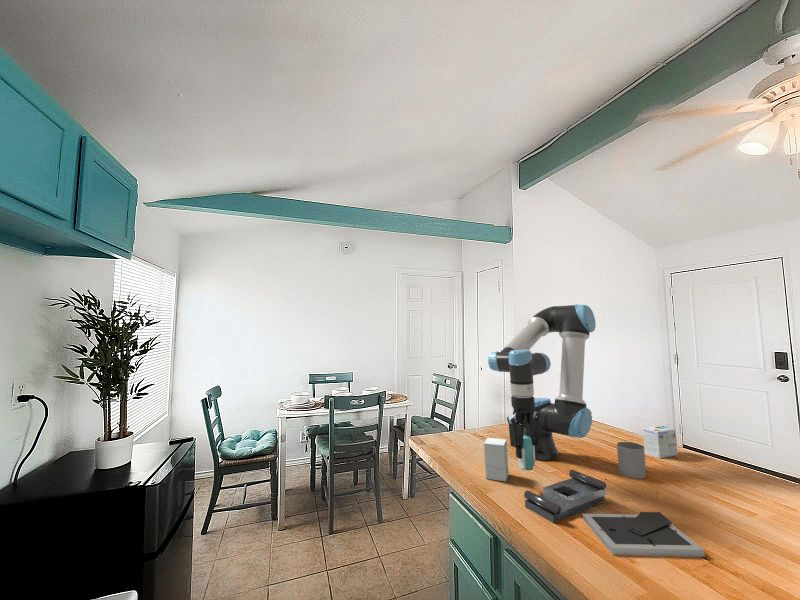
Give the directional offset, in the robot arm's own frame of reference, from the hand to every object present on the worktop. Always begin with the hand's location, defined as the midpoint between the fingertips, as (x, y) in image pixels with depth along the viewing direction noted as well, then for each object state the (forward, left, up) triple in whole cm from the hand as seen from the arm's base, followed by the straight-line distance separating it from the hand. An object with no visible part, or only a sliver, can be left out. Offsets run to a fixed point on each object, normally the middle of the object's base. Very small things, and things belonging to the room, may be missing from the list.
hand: (526, 465), depth 119 cm
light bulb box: (+5, +72, -8) cm, 73 cm away
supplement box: (-13, -2, -8) cm, 15 cm away
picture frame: (+33, +3, -8) cm, 34 cm away
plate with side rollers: (+13, +2, -8) cm, 15 cm away
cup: (+10, +42, -8) cm, 44 cm away
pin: (0, 0, -1) cm, 1 cm away
